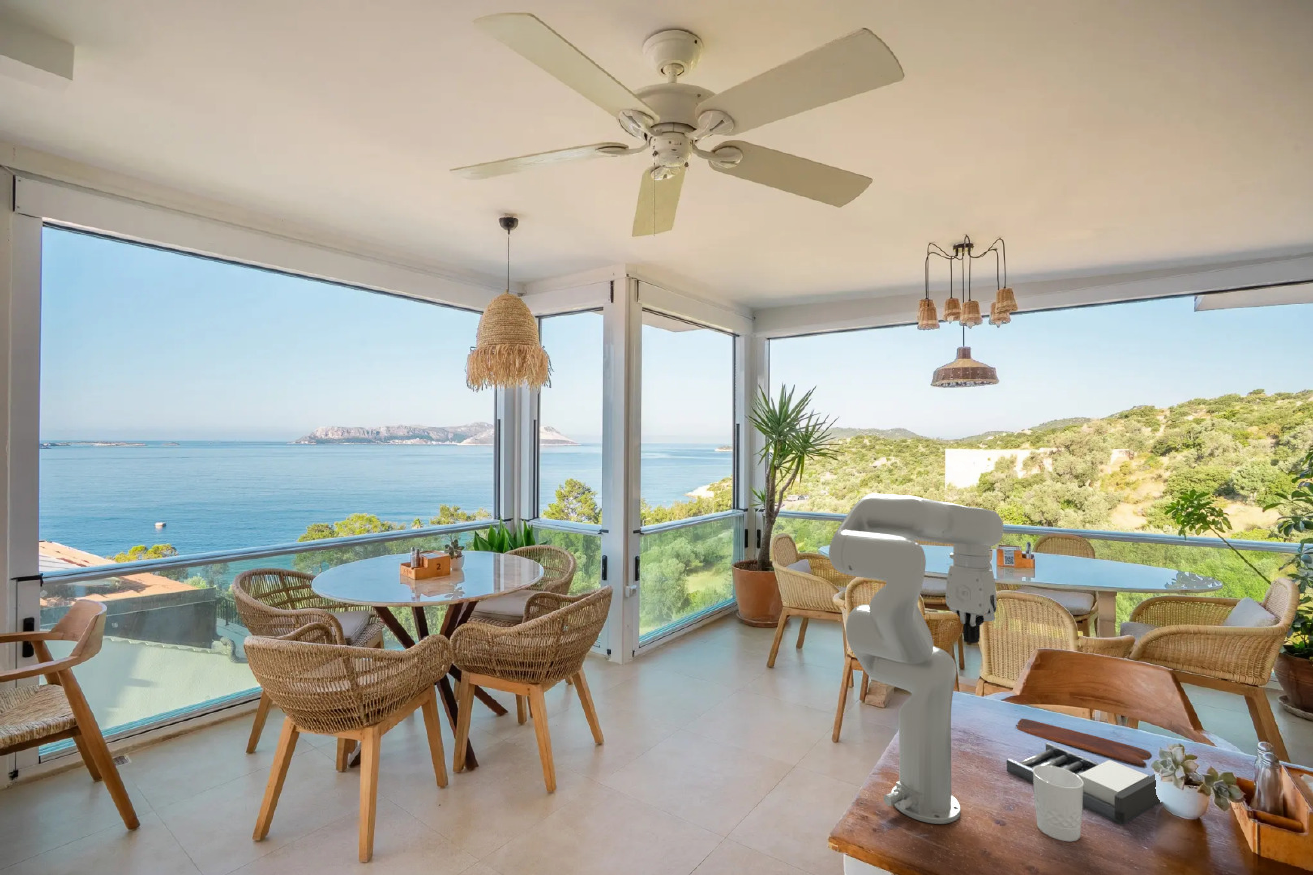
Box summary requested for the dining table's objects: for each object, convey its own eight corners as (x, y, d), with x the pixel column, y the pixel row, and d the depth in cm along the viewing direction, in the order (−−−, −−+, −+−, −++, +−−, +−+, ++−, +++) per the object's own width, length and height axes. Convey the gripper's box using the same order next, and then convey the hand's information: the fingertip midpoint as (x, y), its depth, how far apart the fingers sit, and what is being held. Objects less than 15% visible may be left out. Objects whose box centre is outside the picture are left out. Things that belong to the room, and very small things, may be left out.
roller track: (1122, 825, 114) (1121, 798, 114) (1006, 770, 134) (1006, 747, 134) (1162, 801, 122) (1162, 776, 122) (1048, 752, 141) (1047, 731, 141)
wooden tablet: (1152, 755, 141) (1152, 748, 141) (1146, 771, 134) (1146, 764, 134) (1022, 718, 160) (1022, 712, 160) (1011, 731, 153) (1011, 724, 153)
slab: (1118, 807, 117) (1118, 791, 117) (1078, 789, 123) (1078, 774, 123) (1148, 790, 122) (1148, 775, 122) (1109, 773, 128) (1109, 759, 128)
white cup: (1024, 816, 117) (1023, 764, 117) (1066, 817, 117) (1065, 765, 117) (1049, 843, 109) (1049, 787, 109) (1094, 844, 109) (1093, 788, 109)
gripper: (932, 557, 145) (932, 635, 144) (991, 568, 131) (991, 654, 131) (953, 555, 148) (953, 631, 148) (1013, 565, 135) (1013, 649, 134)
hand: (971, 641), depth 139 cm, fingers closed
